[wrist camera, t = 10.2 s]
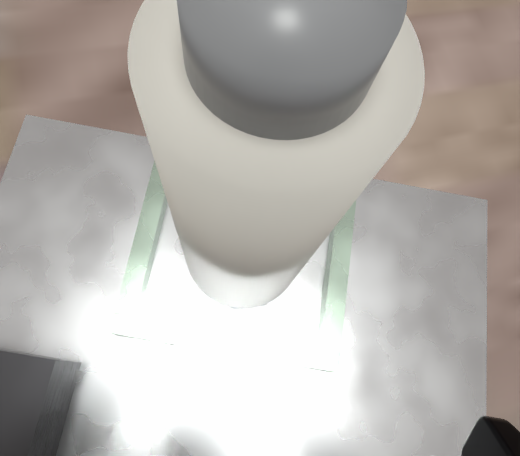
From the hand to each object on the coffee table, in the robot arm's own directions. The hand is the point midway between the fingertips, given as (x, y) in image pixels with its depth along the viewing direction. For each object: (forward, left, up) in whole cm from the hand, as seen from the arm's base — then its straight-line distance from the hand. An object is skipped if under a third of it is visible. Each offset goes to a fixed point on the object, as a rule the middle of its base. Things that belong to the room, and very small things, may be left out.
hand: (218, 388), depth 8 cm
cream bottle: (+5, -2, -11) cm, 12 cm away
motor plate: (+2, -1, -14) cm, 14 cm away
